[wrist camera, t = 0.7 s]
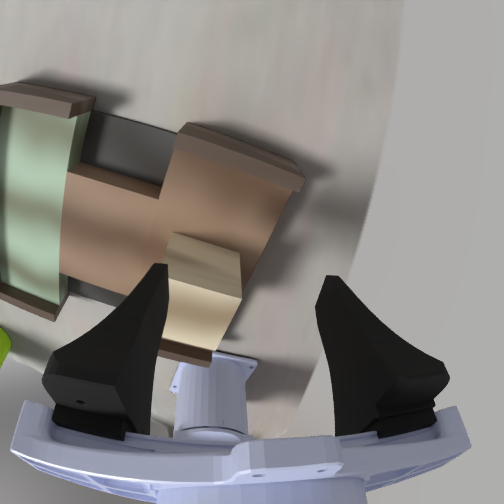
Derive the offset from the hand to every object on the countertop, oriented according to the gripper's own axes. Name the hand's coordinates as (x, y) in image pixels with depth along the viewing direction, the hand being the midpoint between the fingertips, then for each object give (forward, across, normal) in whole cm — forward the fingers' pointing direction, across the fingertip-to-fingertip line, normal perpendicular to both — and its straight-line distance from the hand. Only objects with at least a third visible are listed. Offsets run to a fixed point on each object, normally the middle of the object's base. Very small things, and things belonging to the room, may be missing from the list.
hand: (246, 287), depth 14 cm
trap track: (+10, +10, +4) cm, 15 cm away
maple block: (+8, +3, +5) cm, 10 cm away
